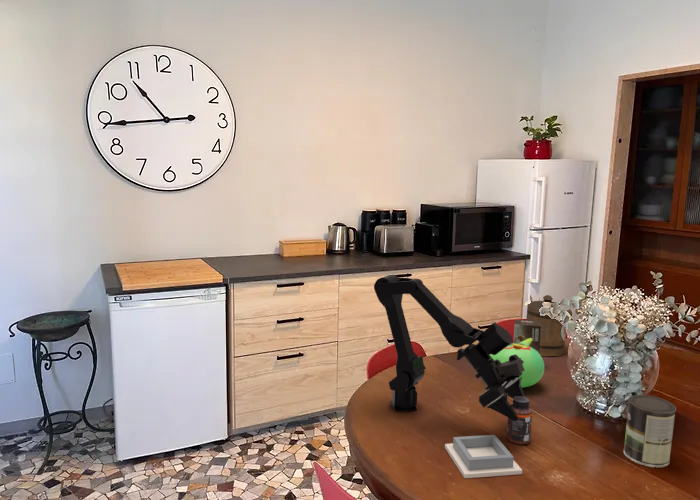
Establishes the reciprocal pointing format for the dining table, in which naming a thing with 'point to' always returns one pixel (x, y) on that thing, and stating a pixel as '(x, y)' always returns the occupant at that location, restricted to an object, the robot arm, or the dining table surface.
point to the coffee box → (528, 333)
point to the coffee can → (649, 430)
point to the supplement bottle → (520, 421)
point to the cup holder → (482, 457)
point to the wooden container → (547, 329)
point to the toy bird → (531, 361)
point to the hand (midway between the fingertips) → (522, 413)
